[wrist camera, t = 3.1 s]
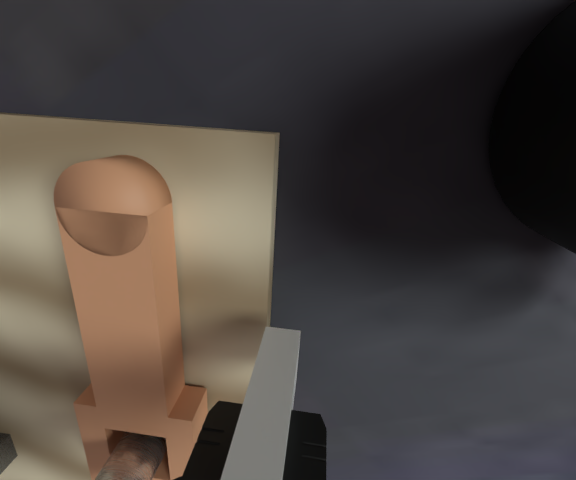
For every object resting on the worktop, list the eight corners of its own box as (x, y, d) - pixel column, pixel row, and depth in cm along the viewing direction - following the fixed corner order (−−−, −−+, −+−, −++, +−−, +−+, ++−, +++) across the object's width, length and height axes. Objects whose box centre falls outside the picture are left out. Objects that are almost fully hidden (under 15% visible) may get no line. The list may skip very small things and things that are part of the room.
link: (209, 464, 19) (197, 502, 17) (114, 449, 20) (92, 483, 18) (197, 160, 13) (175, 168, 11) (56, 149, 13) (12, 154, 11)
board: (-182, 99, 15) (-222, 98, 14) (279, 132, 13) (275, 134, 12) (-16, 485, 25) (-31, 502, 24) (259, 535, 24) (256, 556, 22)
